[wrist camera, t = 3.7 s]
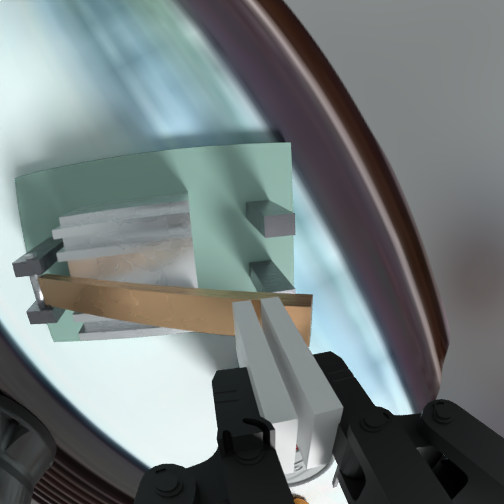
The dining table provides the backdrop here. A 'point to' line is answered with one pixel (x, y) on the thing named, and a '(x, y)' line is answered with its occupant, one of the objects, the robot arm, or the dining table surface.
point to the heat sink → (129, 253)
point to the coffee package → (300, 501)
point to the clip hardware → (261, 273)
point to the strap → (166, 304)
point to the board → (170, 182)
